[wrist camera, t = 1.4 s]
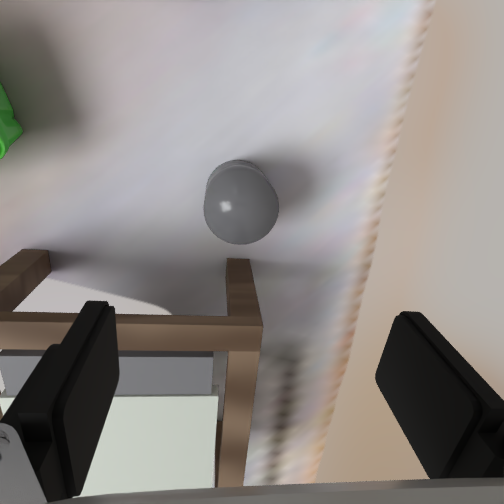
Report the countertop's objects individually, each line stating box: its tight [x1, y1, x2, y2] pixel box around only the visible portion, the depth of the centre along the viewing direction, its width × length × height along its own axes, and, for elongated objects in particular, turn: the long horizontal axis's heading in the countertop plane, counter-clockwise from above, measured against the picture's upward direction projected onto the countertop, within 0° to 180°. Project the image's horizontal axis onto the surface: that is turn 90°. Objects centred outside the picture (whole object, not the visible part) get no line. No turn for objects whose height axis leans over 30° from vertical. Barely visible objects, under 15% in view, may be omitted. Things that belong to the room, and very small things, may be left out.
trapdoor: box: [0, 349, 218, 498], centre depth 25 cm, size 17×14×2 cm
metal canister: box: [204, 160, 279, 245], centre depth 25 cm, size 5×5×5 cm
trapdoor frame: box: [0, 249, 263, 488], centre depth 29 cm, size 22×19×10 cm
